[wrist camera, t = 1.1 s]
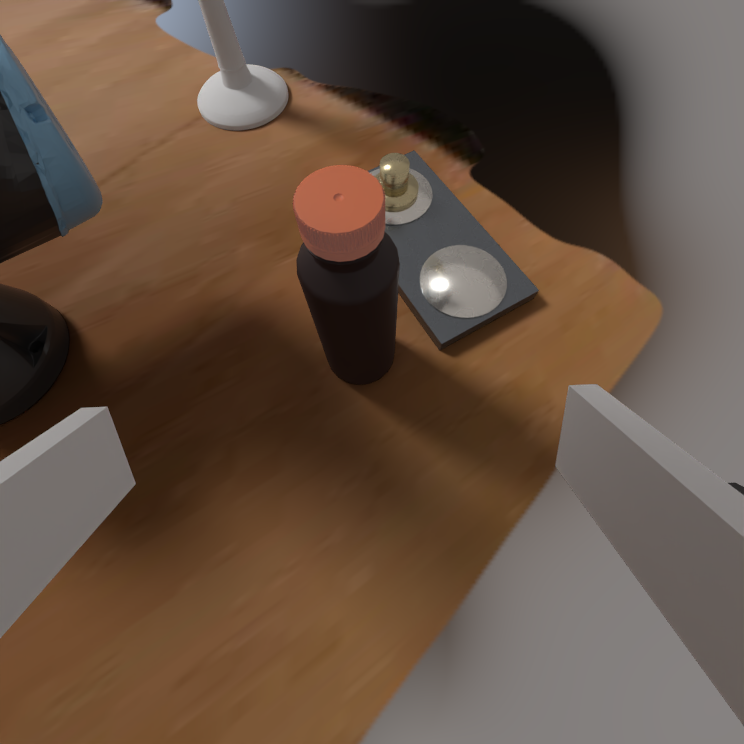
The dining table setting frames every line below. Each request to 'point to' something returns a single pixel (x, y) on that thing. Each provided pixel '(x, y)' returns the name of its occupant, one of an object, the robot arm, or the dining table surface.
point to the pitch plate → (445, 254)
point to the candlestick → (237, 80)
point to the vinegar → (348, 270)
